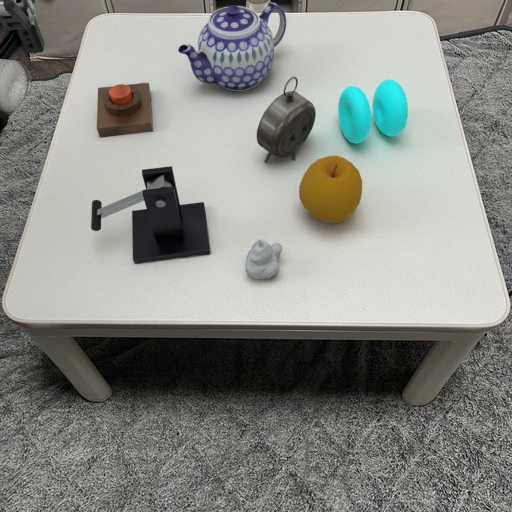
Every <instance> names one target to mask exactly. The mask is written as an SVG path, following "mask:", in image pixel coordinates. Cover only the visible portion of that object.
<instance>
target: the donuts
mask: <svg viewBox="0 0 512 512" xmlns="http://www.w3.org/2000/svg"><path fill="white" fill-rule="evenodd" d="M373 94H374V95H373V96H372V97H373V98H372V112H371V105H370V102H369V99H368V97H367V95H366V94H365V92H364V91H363V90H362V89H361V88H359V87H357V86H352V85H351V86H348V87H345V88H344V89H343V90H342V91H341V93H340V95H339V99H338V105H337V107H338V108H337V113H338V122H339V125H340V128H341V129H340V130H341V132H342V134H343V136H344V137H345V139H346V140H347V141H348V142H349V143H352V144H360V143H362V142H364V141H365V140H366V139H367V137H368V135H369V134H370V130H371V126H372V114H373V119H374V122H375V124H376V126H377V128H378V130H379V131H380V132H381V133H382V134H383V135H385V136H387V137H396V136H399V135H400V134H401V133H402V132H403V131H404V129H405V128H406V125H407V121H408V115H409V107H408V99H407V96H406V92H405V90H404V88H403V87H402V85H401V84H400V83H399V82H398V81H396V80H394V79H386V80H383V81H382V82H380V83H379V84H378V86H377V87H376V89H375V91H374V93H373Z"/></svg>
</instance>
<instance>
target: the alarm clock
mask: <svg viewBox="0 0 512 512" xmlns="http://www.w3.org/2000/svg"><path fill="white" fill-rule="evenodd" d="M292 80H295V87H294V89H292V90H289V91H286V90H287V87H288V85H289V84H290V82H291V81H292ZM298 84H299V81H298V77H297V76H291V77H290V78H289V79H288V80H287V81H286V83H285V84H284V88H283V93H282V94H280V95H279V96H277V97H276V98H275V99H273V101H272V102H271V103H269V105H268V107H267V108H265V110H264V112H263V114H262V116H261V118H260V120H259V123H258V126H257V129H256V142H257V144H258V146H260V148H262V149H264V150H265V151H267V154H266V157H265V159H264V161H263V162H264V164H268V162H269V160H270V158H271V157H272V156H273V157H274V158H277V159H283V158H287V157H289V156H291V157H292V160H293V161H296V160H297V157H296V151H297V150H298V149H300V147H302V146H303V145H304V143H305V142H306V140H307V139H308V138H309V135H310V134H311V133H312V130H313V129H314V125H315V121H316V116H317V113H316V108H315V106H314V103H313V102H312V101H310V100H309V99H307V98H306V97H304V96H302V95H301V94H300V93H298V92H297V91H296V90H297V88H298Z"/></svg>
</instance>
